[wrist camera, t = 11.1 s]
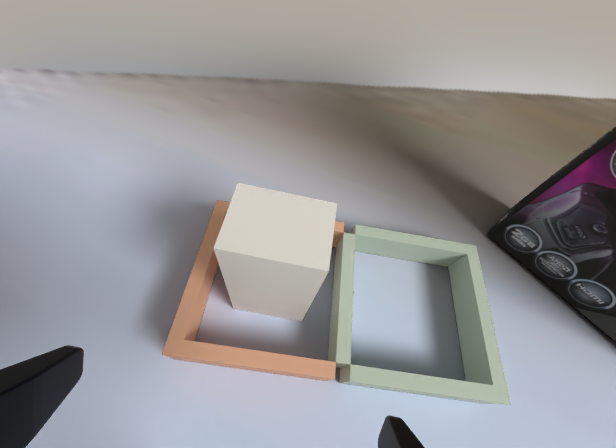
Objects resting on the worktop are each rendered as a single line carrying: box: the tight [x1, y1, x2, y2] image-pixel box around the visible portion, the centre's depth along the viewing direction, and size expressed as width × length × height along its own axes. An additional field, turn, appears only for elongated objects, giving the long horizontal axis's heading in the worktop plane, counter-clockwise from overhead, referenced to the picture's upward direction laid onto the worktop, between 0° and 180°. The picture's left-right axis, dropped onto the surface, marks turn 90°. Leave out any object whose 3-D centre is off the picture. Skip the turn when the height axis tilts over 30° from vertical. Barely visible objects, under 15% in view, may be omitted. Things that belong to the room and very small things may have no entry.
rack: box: [162, 200, 511, 405], centre depth 23 cm, size 23×12×3 cm, turn 83°
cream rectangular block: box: [214, 183, 337, 322], centre depth 19 cm, size 4×6×11 cm
